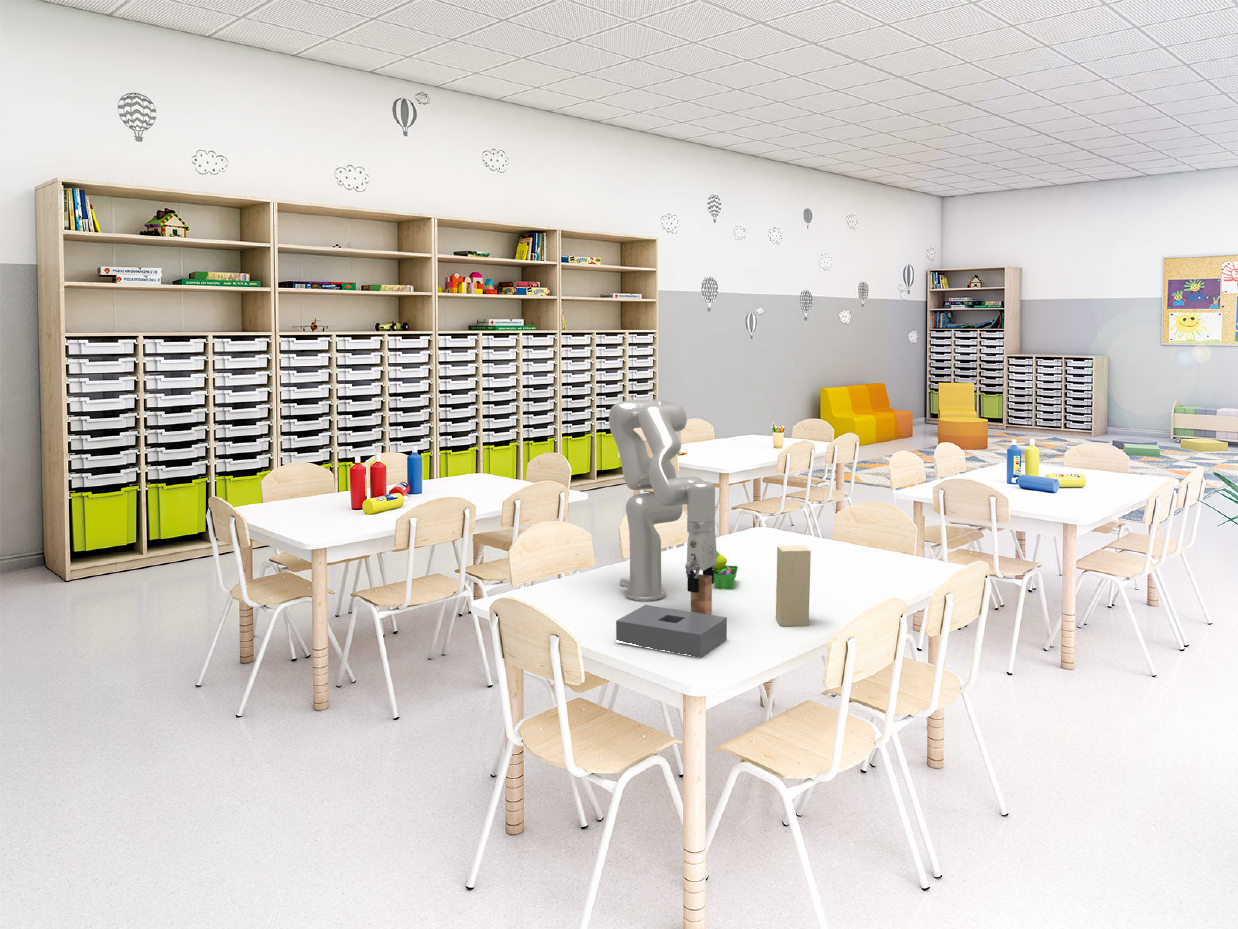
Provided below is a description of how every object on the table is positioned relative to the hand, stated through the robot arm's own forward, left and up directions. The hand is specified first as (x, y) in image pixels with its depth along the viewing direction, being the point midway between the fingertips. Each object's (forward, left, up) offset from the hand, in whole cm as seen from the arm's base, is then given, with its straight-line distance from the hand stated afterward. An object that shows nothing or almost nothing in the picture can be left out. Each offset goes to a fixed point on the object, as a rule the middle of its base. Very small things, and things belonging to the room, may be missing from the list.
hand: (700, 587), depth 253 cm
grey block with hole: (0, -18, -10) cm, 21 cm away
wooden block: (0, 0, -10) cm, 10 cm away
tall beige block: (+22, +12, -10) cm, 27 cm away
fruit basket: (-10, +38, -10) cm, 41 cm away
